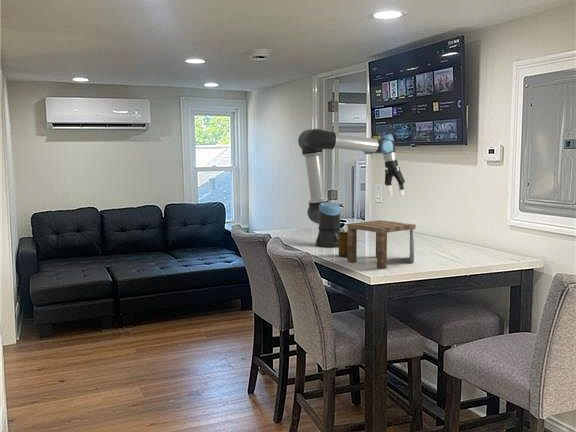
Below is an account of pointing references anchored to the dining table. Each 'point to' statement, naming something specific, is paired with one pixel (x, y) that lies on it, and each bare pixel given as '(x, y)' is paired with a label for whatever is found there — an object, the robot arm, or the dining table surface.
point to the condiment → (343, 244)
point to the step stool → (381, 238)
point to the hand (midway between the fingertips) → (396, 195)
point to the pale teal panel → (412, 245)
